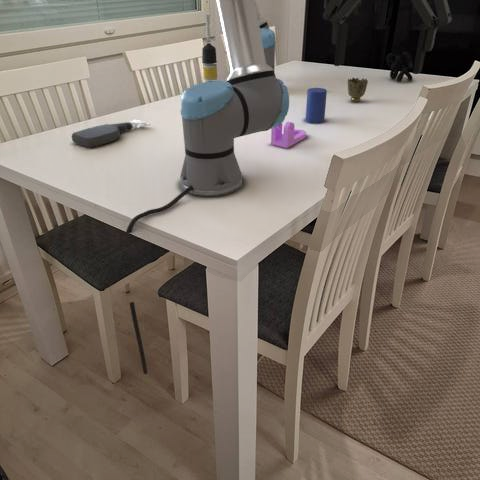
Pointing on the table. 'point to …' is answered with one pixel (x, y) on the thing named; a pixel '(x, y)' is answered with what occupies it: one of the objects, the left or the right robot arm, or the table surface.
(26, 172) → the table surface
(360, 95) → the cup
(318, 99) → the can
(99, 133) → the dark grey flat piece
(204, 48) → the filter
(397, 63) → the squiggle
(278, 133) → the bracket
